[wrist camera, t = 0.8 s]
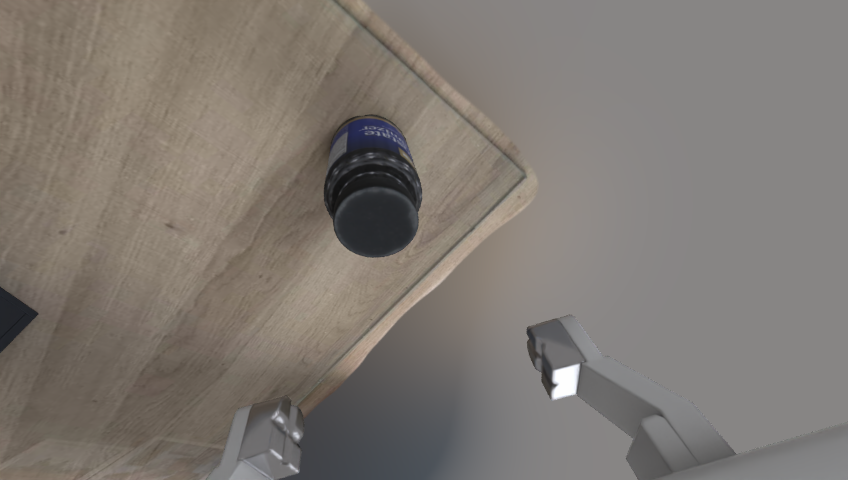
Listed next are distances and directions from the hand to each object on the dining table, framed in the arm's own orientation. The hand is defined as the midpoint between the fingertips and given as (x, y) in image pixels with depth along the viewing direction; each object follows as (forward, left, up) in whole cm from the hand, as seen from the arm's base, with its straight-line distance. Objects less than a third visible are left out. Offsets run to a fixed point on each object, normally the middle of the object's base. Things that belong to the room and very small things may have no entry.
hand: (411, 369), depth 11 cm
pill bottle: (0, -1, -20) cm, 20 cm away
